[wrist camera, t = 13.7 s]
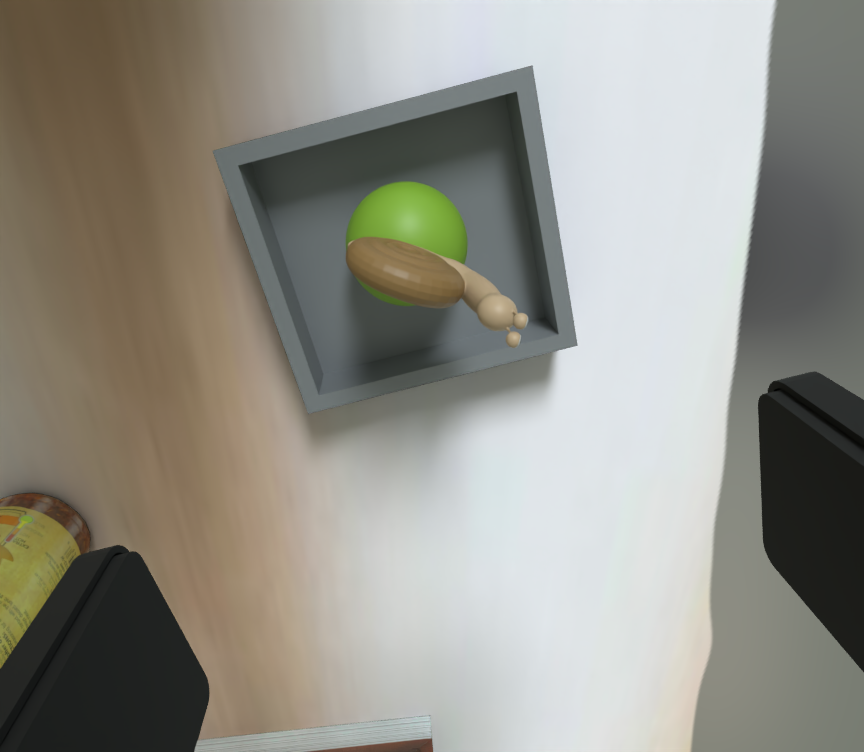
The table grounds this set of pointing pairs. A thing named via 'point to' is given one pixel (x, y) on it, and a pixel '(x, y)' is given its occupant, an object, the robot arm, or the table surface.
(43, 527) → the sauce bottle
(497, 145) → the bin
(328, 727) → the picture frame
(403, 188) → the snail figurine
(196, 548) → the table surface
